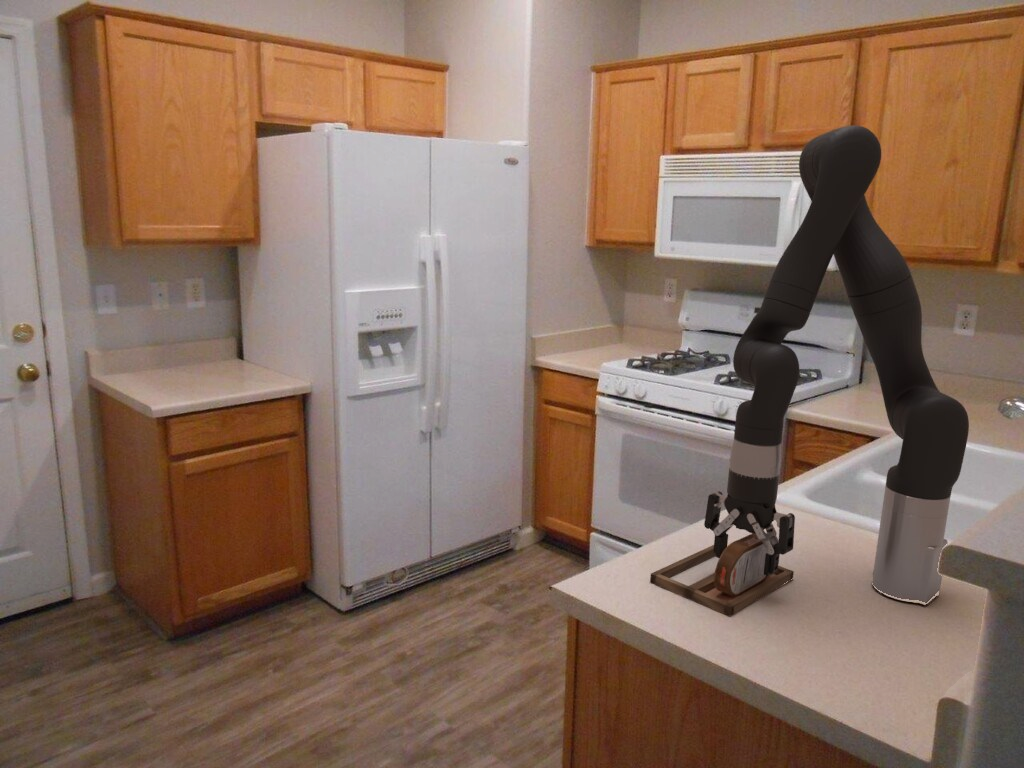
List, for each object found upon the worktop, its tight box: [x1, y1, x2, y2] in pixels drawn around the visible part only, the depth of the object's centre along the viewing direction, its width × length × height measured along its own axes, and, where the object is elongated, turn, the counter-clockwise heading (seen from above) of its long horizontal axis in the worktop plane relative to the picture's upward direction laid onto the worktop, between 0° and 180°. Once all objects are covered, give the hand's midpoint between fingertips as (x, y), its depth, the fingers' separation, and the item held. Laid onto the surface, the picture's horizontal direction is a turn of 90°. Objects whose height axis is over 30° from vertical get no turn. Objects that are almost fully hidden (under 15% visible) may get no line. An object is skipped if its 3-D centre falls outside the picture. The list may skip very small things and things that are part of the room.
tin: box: [714, 533, 768, 596], centre depth 125 cm, size 15×3×8 cm, turn 133°
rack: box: [649, 544, 795, 617], centre depth 129 cm, size 15×20×2 cm
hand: (744, 565), depth 126 cm, fingers open, 8 cm apart
